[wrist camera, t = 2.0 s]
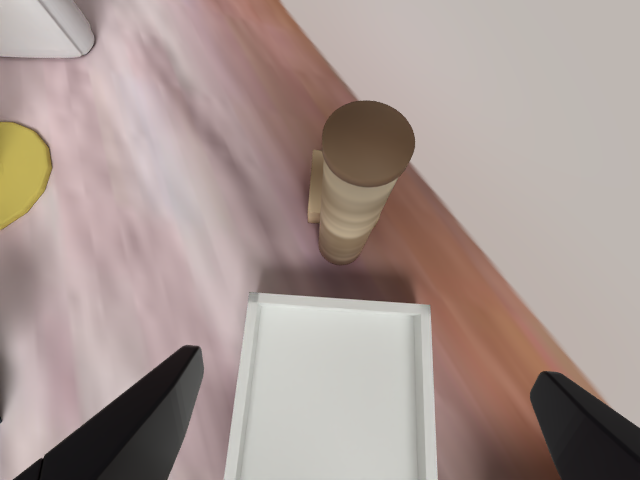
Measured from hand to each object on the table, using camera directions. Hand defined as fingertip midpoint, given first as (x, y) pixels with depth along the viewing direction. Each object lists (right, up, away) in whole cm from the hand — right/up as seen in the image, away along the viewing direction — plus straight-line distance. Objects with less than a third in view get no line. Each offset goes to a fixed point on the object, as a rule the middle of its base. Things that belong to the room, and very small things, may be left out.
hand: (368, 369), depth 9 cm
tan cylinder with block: (0, +5, +16) cm, 17 cm away
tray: (-1, -7, +12) cm, 14 cm away
